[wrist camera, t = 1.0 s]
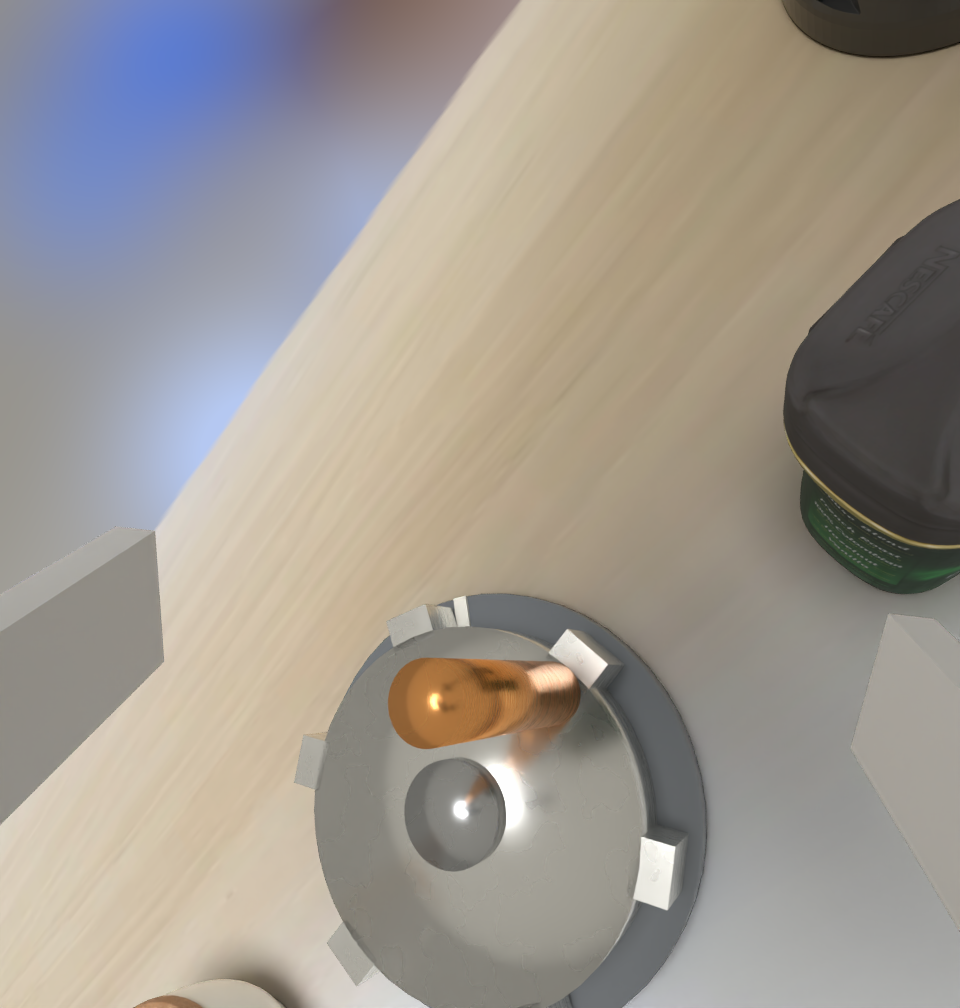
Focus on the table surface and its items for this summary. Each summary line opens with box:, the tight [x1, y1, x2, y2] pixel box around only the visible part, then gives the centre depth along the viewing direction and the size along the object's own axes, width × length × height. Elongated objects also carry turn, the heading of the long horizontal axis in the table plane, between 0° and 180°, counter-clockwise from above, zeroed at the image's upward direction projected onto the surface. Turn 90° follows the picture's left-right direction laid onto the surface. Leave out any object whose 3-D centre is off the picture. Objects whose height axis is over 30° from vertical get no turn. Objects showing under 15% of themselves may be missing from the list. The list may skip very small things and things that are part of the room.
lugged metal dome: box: [294, 604, 689, 1008], centre depth 32 cm, size 21×19×15 cm
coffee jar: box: [783, 199, 960, 594], centre depth 26 cm, size 10×8×19 cm
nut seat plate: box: [344, 594, 707, 1008], centre depth 40 cm, size 22×22×2 cm
